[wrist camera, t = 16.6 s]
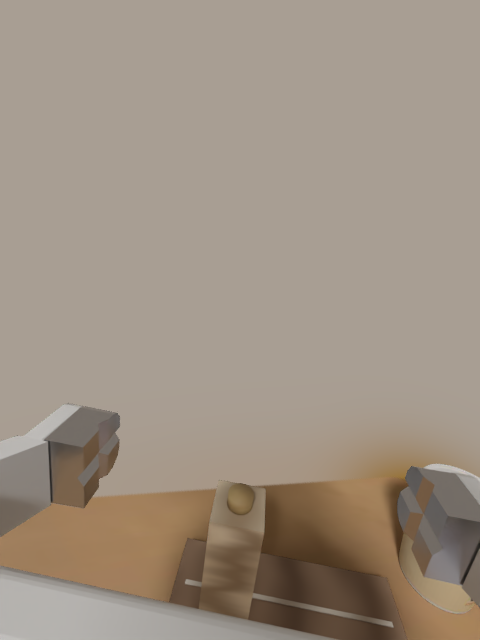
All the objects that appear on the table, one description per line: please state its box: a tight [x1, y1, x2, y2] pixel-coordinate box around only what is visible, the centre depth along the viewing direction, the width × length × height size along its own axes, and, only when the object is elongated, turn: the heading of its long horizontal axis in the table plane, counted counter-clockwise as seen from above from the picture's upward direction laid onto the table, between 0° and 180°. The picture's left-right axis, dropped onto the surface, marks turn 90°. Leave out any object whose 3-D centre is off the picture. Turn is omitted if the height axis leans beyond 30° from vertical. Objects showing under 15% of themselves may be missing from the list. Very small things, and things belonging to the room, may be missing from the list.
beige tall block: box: [199, 480, 266, 620], centre depth 26 cm, size 4×5×14 cm
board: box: [169, 538, 407, 640], centre depth 27 cm, size 22×14×4 cm, turn 84°
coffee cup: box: [399, 464, 480, 614], centre depth 35 cm, size 9×9×12 cm
